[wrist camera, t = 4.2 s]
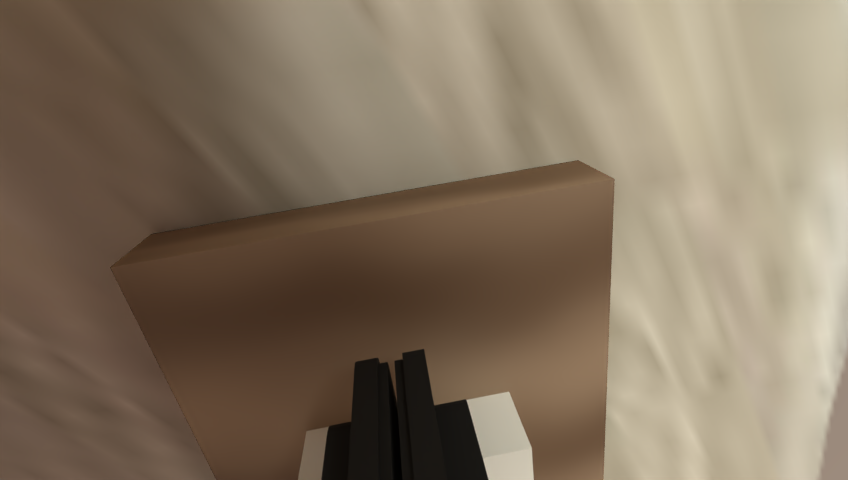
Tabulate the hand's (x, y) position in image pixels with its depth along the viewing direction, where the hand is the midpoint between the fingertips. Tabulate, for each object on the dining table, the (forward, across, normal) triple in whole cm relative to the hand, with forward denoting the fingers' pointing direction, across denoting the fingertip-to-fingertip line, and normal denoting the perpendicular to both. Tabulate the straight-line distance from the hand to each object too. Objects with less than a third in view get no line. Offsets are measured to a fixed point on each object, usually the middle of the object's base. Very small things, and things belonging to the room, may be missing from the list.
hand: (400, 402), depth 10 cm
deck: (+4, 0, +4) cm, 5 cm away
